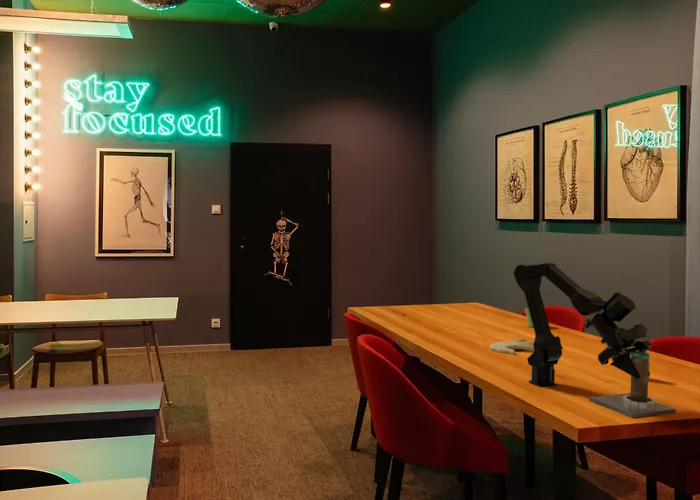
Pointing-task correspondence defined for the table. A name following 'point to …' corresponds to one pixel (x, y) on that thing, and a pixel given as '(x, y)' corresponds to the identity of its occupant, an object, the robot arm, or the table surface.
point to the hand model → (512, 346)
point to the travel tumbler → (640, 385)
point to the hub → (632, 405)
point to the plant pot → (528, 318)
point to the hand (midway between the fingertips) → (644, 377)
